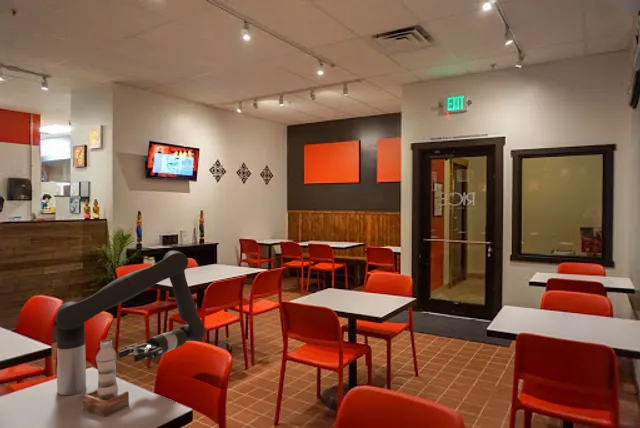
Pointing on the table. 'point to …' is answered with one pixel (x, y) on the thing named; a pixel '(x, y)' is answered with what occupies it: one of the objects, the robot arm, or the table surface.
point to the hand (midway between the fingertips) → (126, 356)
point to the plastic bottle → (106, 371)
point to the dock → (104, 403)
